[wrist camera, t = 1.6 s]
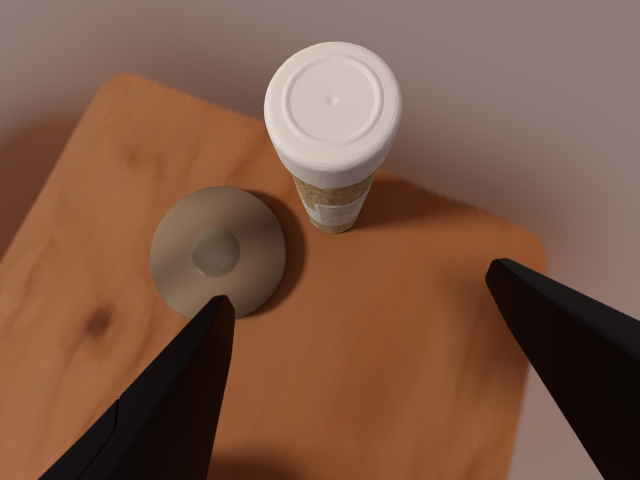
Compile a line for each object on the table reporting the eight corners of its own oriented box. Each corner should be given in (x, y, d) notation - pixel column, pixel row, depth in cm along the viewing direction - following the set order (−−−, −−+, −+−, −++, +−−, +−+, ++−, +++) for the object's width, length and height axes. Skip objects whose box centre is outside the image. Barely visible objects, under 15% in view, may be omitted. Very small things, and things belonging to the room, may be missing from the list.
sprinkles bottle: (305, 186, 21) (255, 44, 8) (356, 180, 21) (395, 23, 8) (309, 237, 21) (265, 176, 7) (363, 232, 20) (417, 158, 7)
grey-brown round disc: (312, 272, 20) (310, 272, 19) (200, 345, 20) (190, 351, 19) (245, 169, 22) (239, 161, 20) (142, 236, 22) (127, 233, 20)
